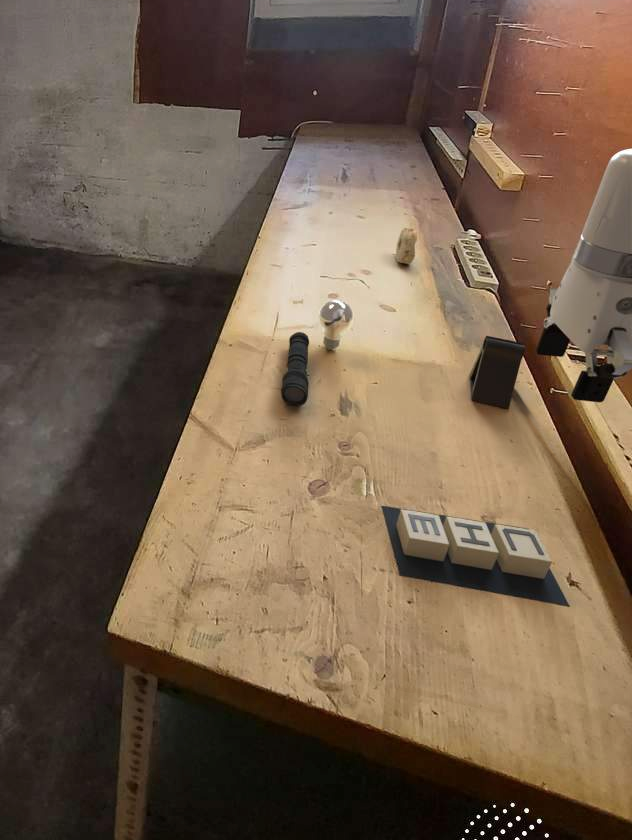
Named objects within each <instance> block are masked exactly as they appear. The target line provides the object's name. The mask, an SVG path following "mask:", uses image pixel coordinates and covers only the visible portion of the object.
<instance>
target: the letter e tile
mask: <svg viewBox="0 0 632 840" xmlns="http://www.w3.org/2000/svg"><path fill="white" fill-rule="evenodd" d="M403 509H404V508H401V511H400V514H399V518H398V521H397V524H396V527H397V530H398V534H399V538H400V541H401V545H402V548H403V552H404V555H409V556H415V557H421V558H426V559H432V560H438V561H444V558H445V555H446V553H447V550H448V547H449V542H448V539H447V537H446V534H445V531H444V528H443V526H442V523H441V520H440V517H439V515H440V514H439V515H435V514H436V513H432V514H428V513H429V512H426V513H422V512H423V511H420V512H416V511H417V510H413V511H409V510H410V509H407V510H403Z"/></svg>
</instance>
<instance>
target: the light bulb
mask: <svg viewBox="0 0 632 840" xmlns="http://www.w3.org/2000/svg"><path fill="white" fill-rule="evenodd" d="M319 309H320V310H319V313H318V319H319V323H320V325H321V327H322V329H323V341H322V344H323V345H324V346H325V348H326V349H327V350H330V351H333V350H334V349H337V348H339V346H340V342H341V339H342V338H343V335H344V334H345V332H346V331H347V330H349V329H350V328H351V327H352V325H353V322H354V318H355V315H354V311H353V309H352V308H351V306H350V304H348V303H347V302H345V301H343V300H339V299H334V300H333V299H332V300H329V301H327V302H325V303H324V304H323V305H322V306H321V308H319Z"/></svg>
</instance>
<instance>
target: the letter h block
mask: <svg viewBox="0 0 632 840" xmlns="http://www.w3.org/2000/svg"><path fill="white" fill-rule="evenodd" d="M445 516H446V519H445V522H444V524H443V528H444V531H445V534H446V537H447V539H448V542H449V547H448V550H447V552H448V555H449V558H450V561H451V563H455V564H461V565H466V566H472V567H478V568H484V569H489V570H492V568H493V566H494V563H495V561H496V559H497V556H498V554H499V552H498V550H497V548H496V545H495V543H494V541H493V539H492V536H491V534H490V532H489V530H488V527H487V525H486V523H485V522H486V521H483V522H479V521H480V520H477V521H473V520H474V519H470V520H466V519H467V518H464V519H460V518H461V517H458V518H454V517H455V516H451V517H447V516H448V515H445Z"/></svg>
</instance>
